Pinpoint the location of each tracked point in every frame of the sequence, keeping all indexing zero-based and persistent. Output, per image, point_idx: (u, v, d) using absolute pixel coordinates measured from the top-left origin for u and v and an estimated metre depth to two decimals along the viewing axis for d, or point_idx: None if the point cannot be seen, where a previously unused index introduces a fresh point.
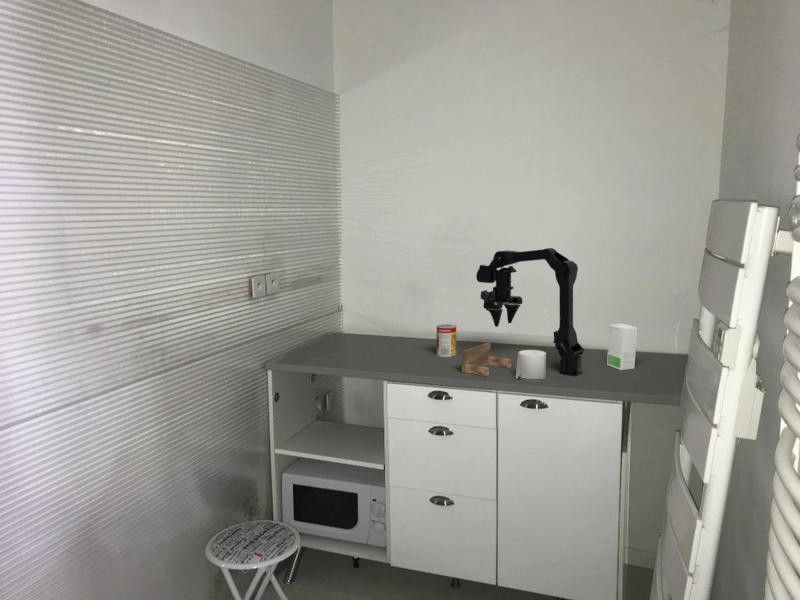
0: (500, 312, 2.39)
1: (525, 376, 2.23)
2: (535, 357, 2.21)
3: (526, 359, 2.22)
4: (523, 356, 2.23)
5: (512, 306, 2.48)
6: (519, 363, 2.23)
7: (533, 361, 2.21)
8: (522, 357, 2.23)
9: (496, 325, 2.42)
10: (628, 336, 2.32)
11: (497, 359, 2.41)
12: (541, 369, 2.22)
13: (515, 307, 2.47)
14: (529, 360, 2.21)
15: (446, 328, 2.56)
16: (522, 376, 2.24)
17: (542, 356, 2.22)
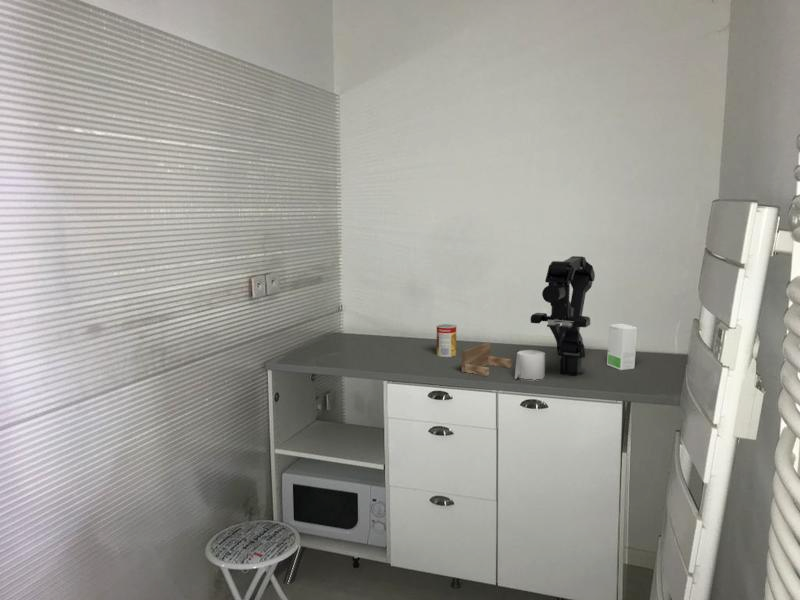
0: (552, 329, 2.15)
1: (524, 376, 2.23)
2: (534, 357, 2.20)
3: (525, 359, 2.22)
4: (522, 356, 2.22)
5: None
6: (518, 363, 2.22)
7: (532, 361, 2.21)
8: (521, 357, 2.23)
9: None
10: (628, 336, 2.32)
11: (497, 359, 2.41)
12: (540, 369, 2.22)
13: None
14: (528, 360, 2.21)
15: (446, 328, 2.56)
16: (521, 376, 2.23)
17: (541, 356, 2.21)
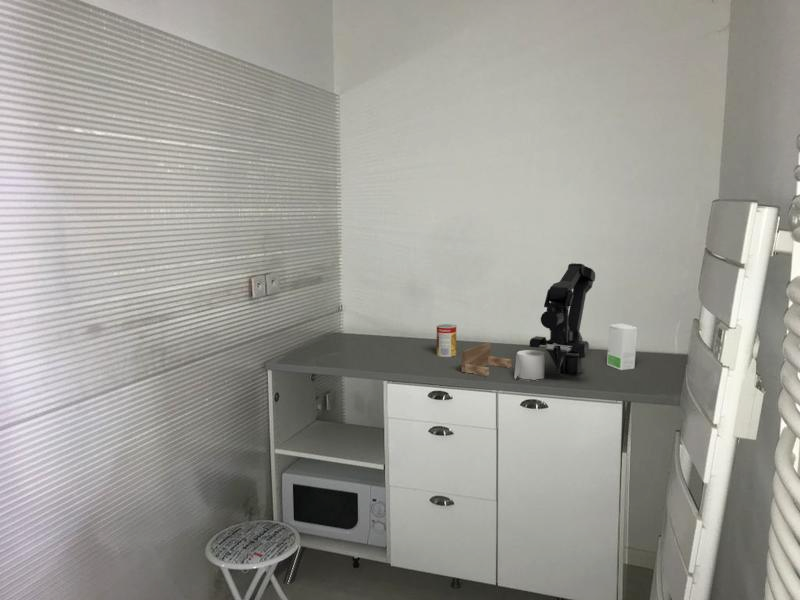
0: (551, 353, 2.16)
1: (524, 376, 2.22)
2: (534, 357, 2.20)
3: (524, 359, 2.21)
4: (522, 356, 2.22)
5: None
6: (518, 363, 2.22)
7: (532, 361, 2.21)
8: (521, 357, 2.22)
9: None
10: (628, 336, 2.32)
11: (497, 359, 2.41)
12: (539, 369, 2.22)
13: None
14: (528, 360, 2.21)
15: (446, 328, 2.56)
16: (521, 376, 2.23)
17: (541, 356, 2.21)
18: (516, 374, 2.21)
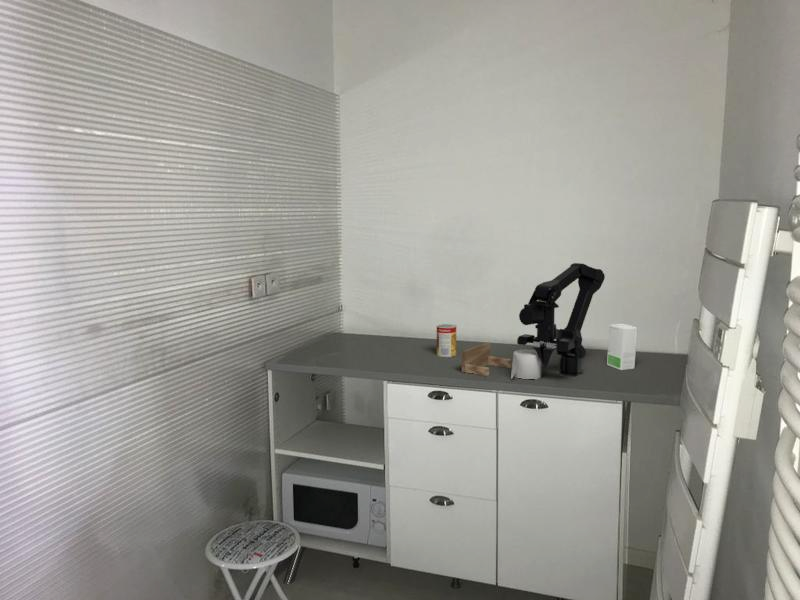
0: (537, 350, 2.19)
1: (520, 376, 2.23)
2: (530, 357, 2.21)
3: (521, 358, 2.22)
4: (518, 356, 2.23)
5: None
6: (514, 363, 2.23)
7: (528, 361, 2.21)
8: (517, 357, 2.23)
9: None
10: (628, 336, 2.32)
11: (497, 359, 2.41)
12: (536, 368, 2.22)
13: None
14: (524, 359, 2.21)
15: (446, 328, 2.56)
16: (517, 376, 2.24)
17: (537, 356, 2.22)
18: (513, 373, 2.22)
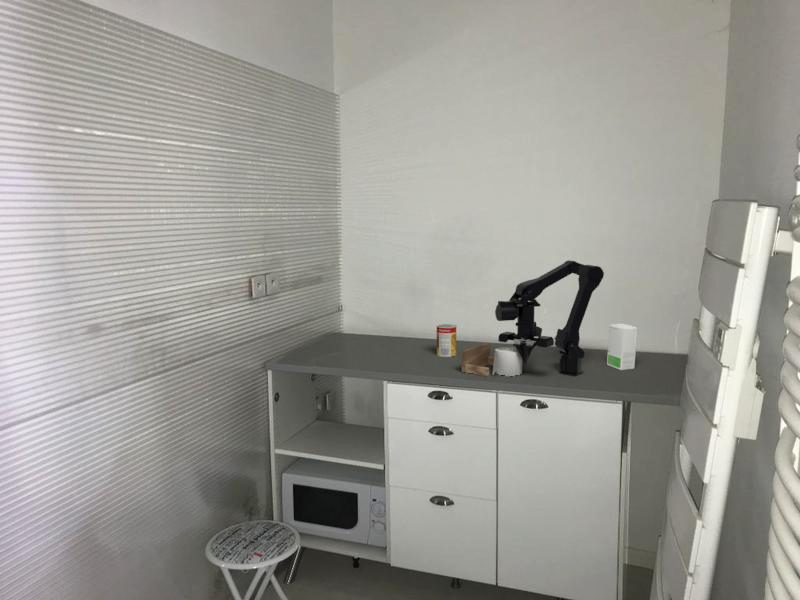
0: (517, 348, 2.24)
1: (501, 372, 2.28)
2: (511, 354, 2.26)
3: (502, 355, 2.27)
4: (499, 353, 2.27)
5: None
6: (495, 360, 2.28)
7: (509, 358, 2.26)
8: (498, 354, 2.28)
9: None
10: (628, 336, 2.32)
11: None
12: (517, 365, 2.27)
13: None
14: (505, 356, 2.26)
15: (446, 328, 2.56)
16: (499, 372, 2.29)
17: (518, 353, 2.27)
18: (494, 370, 2.27)
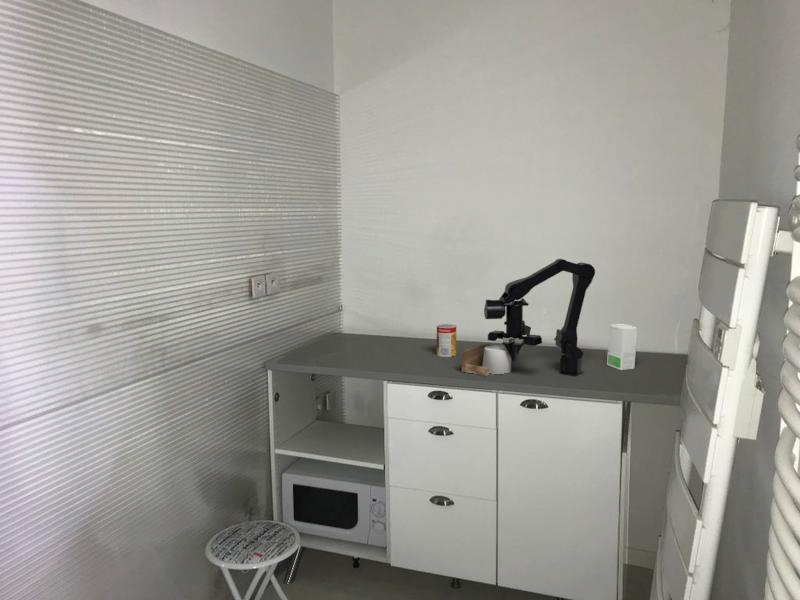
0: (506, 346, 2.27)
1: (491, 371, 2.31)
2: (500, 352, 2.28)
3: (491, 354, 2.30)
4: (488, 351, 2.30)
5: None
6: (485, 358, 2.30)
7: (498, 356, 2.29)
8: (488, 352, 2.31)
9: None
10: (628, 336, 2.32)
11: None
12: (506, 363, 2.30)
13: None
14: (494, 355, 2.29)
15: (446, 328, 2.56)
16: None
17: (507, 351, 2.29)
18: None
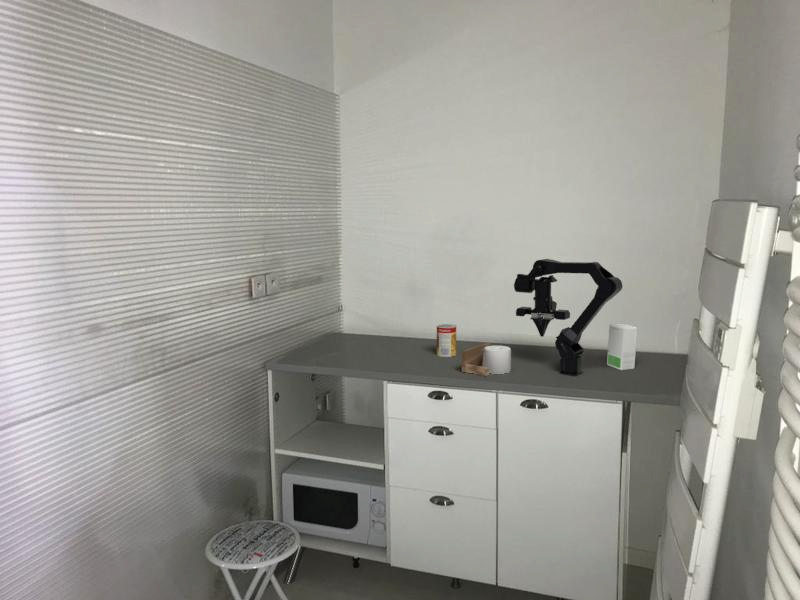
0: (535, 321, 2.34)
1: (490, 371, 2.31)
2: (500, 352, 2.29)
3: (491, 354, 2.30)
4: (488, 351, 2.30)
5: None
6: (485, 358, 2.30)
7: (498, 356, 2.29)
8: (487, 352, 2.31)
9: None
10: (628, 336, 2.32)
11: None
12: (506, 363, 2.30)
13: None
14: (494, 355, 2.29)
15: (446, 328, 2.56)
16: None
17: (507, 351, 2.29)
18: None
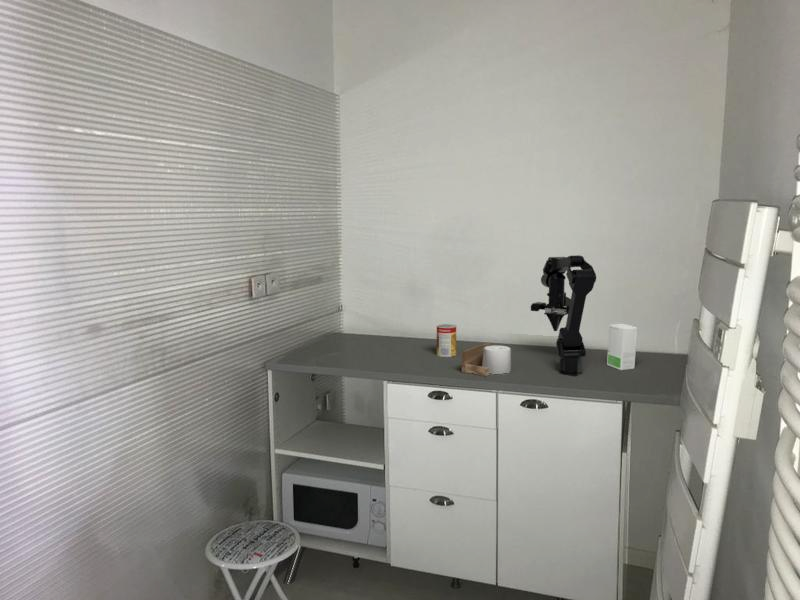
0: (548, 316, 2.44)
1: (490, 371, 2.31)
2: (500, 352, 2.29)
3: (491, 354, 2.30)
4: (488, 351, 2.30)
5: None
6: (484, 358, 2.30)
7: (498, 356, 2.29)
8: (487, 352, 2.31)
9: None
10: (628, 336, 2.32)
11: None
12: (505, 363, 2.30)
13: None
14: (494, 355, 2.29)
15: (446, 328, 2.56)
16: None
17: (507, 351, 2.30)
18: None
